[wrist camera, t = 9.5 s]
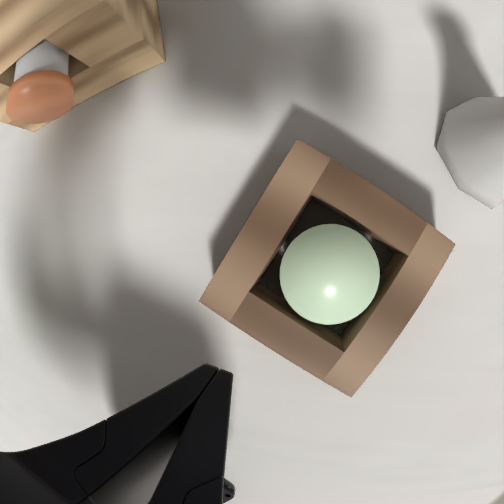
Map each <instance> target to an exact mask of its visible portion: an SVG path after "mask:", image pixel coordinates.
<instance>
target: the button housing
mask: <svg viewBox="0 0 504 504" xmlns="http://www.w3.org/2000/svg"><path fill="white" fill-rule="evenodd" d="M311 198H313V199H314V200H316V201H317V202H319V203H321V204H322V205H324V206H325V207H327V208H329V209H330V210H332V211H333V212H335V213H337V214H338V215H340V216H341V217H343V218H344V219H346V220H347V221H349V222H350V223H352V224H354V225H355V226H357V227H358V228H360V229H361V230H363V231H364V232H366V233H367V234H369V235H370V236H372V237H373V238H375V239H376V240H378V241H379V242H381V243H382V244H383V245H385V246H386V247H388V248H389V249H391V250H392V251H394V252H395V254H394V255H393V257H392V259H391V260H390V262H389V263H388V265H387V267H386V268H385V270H384V271H383V273H382V275H381V276H380V278H379V285H378V288H377V291H376V294H375V296H374V298H373V300H372V301H371V303H370V304H369V305H368V307H367V308H366V309H365V310H364V311H363V312H362V313H360V314H359V315H358V316H356V317H355V318H353V319H352V320H351V321H350V323H349V324H348V326H347V327H346V328H345V330H344V331H343V333H342V334H341V335H339V334H338V333H336V332H334V331H333V330H331V329H330V328H328V327H326V326H325V325H323V324H319V323H315V322H312V321H309V320H307V319H305V318H304V317H302V316H301V315H299V314H298V313H297V312H296V311H295V310H294V309H293V308H292V307H291V306H290V305H289V303H288V302H287V301H286V300H284V299H283V298H281V297H279V296H278V295H276V294H275V293H273V292H272V291H270V290H269V289H267V288H266V287H264V286H263V285H261V284H259V281H260V280H261V278H262V277H263V275H264V273H265V272H266V270H267V269H268V267H269V266H270V264H271V262H272V261H273V259H274V258H275V256H276V254H277V253H278V251H279V250H280V248H281V246H282V245H283V243H284V242H285V240H286V238H287V237H288V235H289V234H290V232H291V230H292V229H293V227H294V226H295V224H296V222H297V221H298V219H299V218H300V216H301V214H302V213H303V211H304V209H305V208H306V206H307V205H308V203H309V201H310V200H311ZM454 246H455V243H453V242H452V241H451V240H450V239H448V238H447V237H446V236H444V235H443V234H442V233H440V232H439V231H438V230H437V229H435V228H434V227H433V226H431V225H430V224H429V223H427V222H426V221H424V220H423V219H422V218H420V217H419V216H418V215H416V214H415V213H413V212H412V211H411V210H409V209H408V208H406V207H405V206H404V205H402V204H401V203H399V202H398V201H396V200H395V199H393V198H392V197H391V196H389V195H388V194H386V193H385V192H383V191H382V190H380V189H379V188H377V187H376V186H374V185H373V184H371V183H370V182H368V181H366V180H365V179H363V178H362V177H360V176H359V175H357V174H355V173H354V172H352V171H351V170H349V169H347V168H346V167H344V166H343V165H341V164H339V163H338V162H336V161H334V160H333V159H331V158H329V157H328V156H326V155H324V154H323V153H321V152H319V151H317V150H316V149H314V148H312V147H311V146H309V145H307V144H305V143H304V142H302V141H300V140H298V139H297V140H296V142H295V143H294V145H293V147H292V148H291V150H290V151H289V153H288V155H287V156H286V158H285V159H284V161H283V163H282V164H281V166H280V167H279V169H278V171H277V172H276V174H275V175H274V177H273V179H272V180H271V182H270V184H269V185H268V187H267V188H266V190H265V192H264V193H263V195H262V197H261V198H260V200H259V201H258V203H257V205H256V206H255V208H254V210H253V211H252V213H251V215H250V216H249V218H248V220H247V221H246V223H245V224H244V226H243V228H242V229H241V231H240V233H239V234H238V236H237V238H236V239H235V241H234V243H233V244H232V246H231V248H230V249H229V251H228V253H227V254H226V256H225V258H224V259H223V261H222V263H221V264H220V266H219V268H218V269H217V271H216V273H215V274H214V276H213V278H212V279H211V281H210V283H209V284H208V286H207V288H206V289H205V291H204V293H203V295H202V296H201V298H200V300H199V302H201V303H202V304H204V305H205V306H207V307H208V308H209V309H211V310H212V311H214V312H215V313H217V314H218V315H220V316H221V317H223V318H224V319H226V320H227V321H229V322H230V323H232V324H233V325H235V326H236V327H238V328H239V329H241V330H242V331H244V332H245V333H247V334H248V335H250V336H251V337H253V338H254V339H256V340H257V341H259V342H261V343H262V344H264V345H265V346H267V347H268V348H270V349H271V350H273V351H275V352H276V353H278V354H279V355H281V356H283V357H284V358H286V359H287V360H289V361H291V362H292V363H294V364H296V365H297V366H299V367H300V368H302V369H304V370H305V371H307V372H309V373H310V374H312V375H314V376H315V377H317V378H319V379H320V380H322V381H324V382H325V383H327V384H329V385H331V386H332V387H334V388H336V389H337V390H339V391H341V392H343V393H344V394H346V395H348V396H350V397H352V396H353V395H354V393H355V392H356V391H357V390H358V389H359V387H360V386H361V385H362V384H363V382H364V381H365V380H366V379H367V377H368V376H369V375H370V374H371V372H372V371H373V370H374V369H375V367H376V366H377V365H378V363H379V362H380V361H381V359H382V358H383V357H384V355H385V354H386V353H387V351H388V350H389V349H390V347H391V346H392V345H393V343H394V342H395V340H396V339H397V338H398V336H399V335H400V333H401V332H402V330H403V329H404V328H405V326H406V325H407V323H408V322H409V320H410V319H411V317H412V316H413V314H414V313H415V311H416V310H417V308H418V307H419V305H420V304H421V302H422V300H423V299H424V297H425V296H426V294H427V292H428V291H429V289H430V288H431V286H432V284H433V283H434V281H435V279H436V278H437V276H438V274H439V273H440V271H441V269H442V267H443V266H444V264H445V262H446V260H447V259H448V257H449V255H450V253H451V251H452V250H453V248H454Z"/></svg>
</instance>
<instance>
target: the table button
mask: <svg viewBox="0 0 504 504" xmlns="http://www.w3.org/2000/svg"><path fill="white" fill-rule="evenodd" d="M379 278H380V269H379V263H378V259H377V256H376V253H375V251H374V249H373V248H372V246H371V245H370V243H369V242H368V241H367V240H366V239H365V238H364V237H363V236H362V235H361V234H360V233H358V232H357V231H355V230H353V229H351V228H349V227H346V226H342V225H337V224H324V225H318V226H315V227H312V228H310V229H308V230H306V231H304V232H303V233H301V234H300V235H299V236H297V237H296V238H295V239H294V240H293V241H292V242H291V244H290V245H289V246H288V248H287V250H286V252H285V253H284V256H283V259H282V262H281V266H280V283H281V288H282V291H283V294H284V296H285V298H286V300H287V302H288V303H289V305H290V306H291V307H292V308H293V309H294V310H295V311H296V312H297V313H298V314H299V315H301V316H302V317H304V318H305V319H307V320H309V321H312V322H315V323H319V324H326V325H332V324H340V323H343V322H346V321H349V320H351V319H353V318H355V317H356V316H358V315H359V314H360V313H362V312H363V311H364V310H365V309H366V308H367V307H368V305H369V304H370V303H371V301H372V300H373V298H374V296H375V294H376V291H377V288H378V285H379Z"/></svg>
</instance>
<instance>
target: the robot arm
mask: <svg viewBox="0 0 504 504" xmlns="http://www.w3.org/2000/svg"><path fill="white" fill-rule="evenodd" d="M232 382H233V374H232V373H231V372H228V371H226V370H223V369H218V368H217V367H215V366H212V365H210V364H203V365H201V366H200V367H198V368H196V369H195V370H193V371H191V372H190V373H188V374H186V375H184V376H183V377H181V378H179V379H178V380H176V381H174V382H172V383H171V384H169V385H167V386H166V387H164V388H162V389H160V390H158V391H157V392H155V393H153V394H151V395H150V396H148V397H146V398H144V399H142V400H141V401H139V402H137V403H135V404H133V405H131V406H130V407H128V408H126V409H124V410H122V411H120V412H118V413H117V414H115V415H113V416H111V417H109V418H107V421H106V420H103V421H101V422H99V423H97V424H95V425H93V426H91V427H89V428H87V429H85V430H83V431H80V432H78V433H76V434H73V435H70V436H68V437H65V438H62V439H59V440H56V441H53V442H50V443H47V444H44V445H41V446H38V447H34V448H31V449H28V450H24V451H18V452H0V504H223V503H225V502H227V501H229V500H231V499H232V498H233V497H234V495H235V492H234V491H233V490H231V489H230V488H229V487H227V486H226V485H224V472H225V461H226V449H227V438H228V427H229V415H230V404H231V393H232Z"/></svg>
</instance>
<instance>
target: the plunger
mask: <svg viewBox="0 0 504 504" xmlns="http://www.w3.org/2000/svg"><path fill="white" fill-rule="evenodd" d="M68 61H69V53H67V52H66V51H64V50H62V49H61V48H59V47H58V46H56V45H54V44H53V43H51V42H49V41H48V40H46V39H43V40H42V41H41V42H39V43H38V44H37V45H35V46H34V47H33V48H32V49H30V50H29V51H28V52H26V53H25V54H24V55H23V56H22V57H20V58H19V59H18V60H17V61H16V68H15V76H14V83H13V84H12V85H11V86H10V88H9V89H8V92H7V101H6V114H7V116H8V117H9V118H10V119H11V120H13V121H15V122H18V123H22V124H39V123H45V122H48V121H52V120H54V119H57V118H59V117H61V116H62V115H64V114H65V113H67V112H68V111H69V110H70V108H71V107H72V105H73V102H74V85H73V81H72V80H71V78H70V77H69V76H68Z"/></svg>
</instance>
